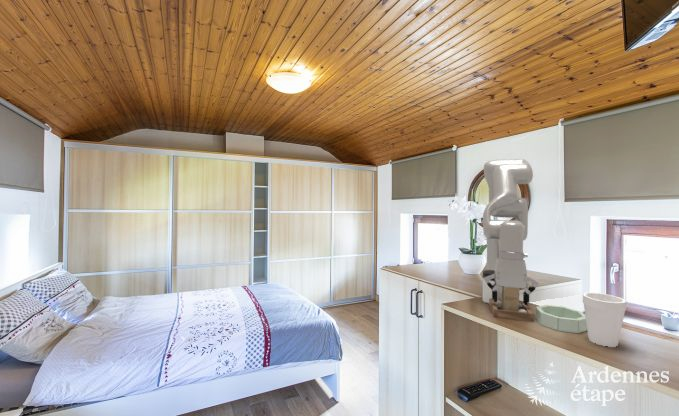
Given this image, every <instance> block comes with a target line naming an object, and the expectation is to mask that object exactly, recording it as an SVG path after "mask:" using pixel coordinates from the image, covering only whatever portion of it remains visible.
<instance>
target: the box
mask: <svg viewBox="0 0 679 416" xmlns="http://www.w3.org/2000/svg"><path fill="white" fill-rule="evenodd" d="M519 302H520V288H515V287H502V300H501V308H500V310H509V311H519Z"/></svg>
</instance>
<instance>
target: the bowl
mask: <svg viewBox="0 0 679 416" xmlns="http://www.w3.org/2000/svg"><path fill="white" fill-rule="evenodd" d="M535 319H536V321H537V323H539V324H540V325H541V326H544V327H546V328H549V329H552V330H554V331H558V332H566V333H574V334H580V333H583V332H586V331H587V323H586V316H585V313H583V312H582V311H580V310H577V309H574V308H570V307H566V306H563V305H562V306H561V305H552V304H551V305H550V304H543V305H538V306H536V307H535ZM587 332H588V331H587Z"/></svg>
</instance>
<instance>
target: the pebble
mask: <svg viewBox="0 0 679 416" xmlns="http://www.w3.org/2000/svg"><path fill="white" fill-rule="evenodd" d="M494 303H495V305H496V307H497V309H501V301H499V300H497V302H494Z"/></svg>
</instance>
